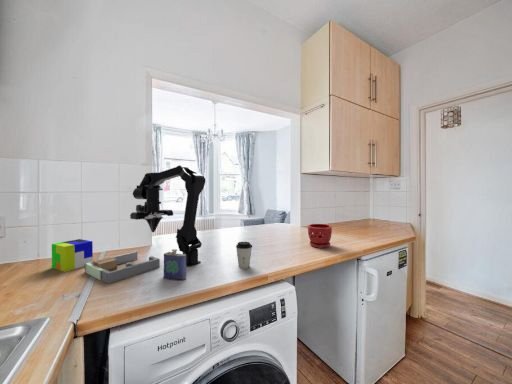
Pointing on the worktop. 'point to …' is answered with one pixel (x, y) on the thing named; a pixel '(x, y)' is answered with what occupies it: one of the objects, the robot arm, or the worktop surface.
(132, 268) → the box
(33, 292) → the worktop surface
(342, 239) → the worktop surface
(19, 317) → the worktop surface
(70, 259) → the puzzle toy
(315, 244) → the plant pot
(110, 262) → the walnut block
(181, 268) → the flask
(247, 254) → the coffee cup
